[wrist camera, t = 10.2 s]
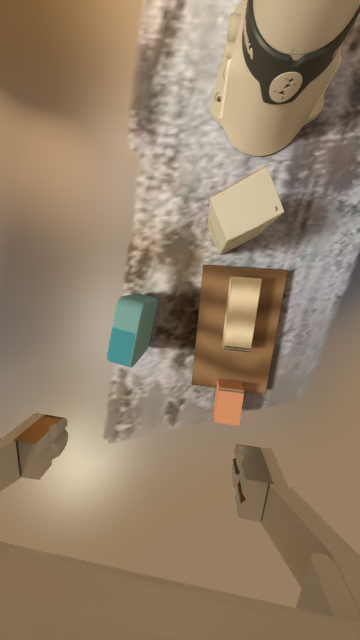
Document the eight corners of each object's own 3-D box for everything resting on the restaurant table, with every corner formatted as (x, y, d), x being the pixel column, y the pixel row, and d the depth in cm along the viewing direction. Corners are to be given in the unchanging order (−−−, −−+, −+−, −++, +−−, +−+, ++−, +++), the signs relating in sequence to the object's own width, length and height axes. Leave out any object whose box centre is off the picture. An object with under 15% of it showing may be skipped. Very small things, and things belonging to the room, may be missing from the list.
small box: (245, 205, 37) (268, 163, 24) (257, 236, 37) (286, 212, 25) (206, 226, 38) (209, 197, 25) (219, 255, 39) (228, 242, 26)
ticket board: (203, 265, 40) (203, 262, 34) (283, 271, 38) (296, 269, 33) (192, 380, 45) (191, 393, 39) (262, 388, 43) (271, 404, 38)
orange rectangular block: (217, 379, 42) (219, 387, 38) (240, 381, 41) (244, 391, 38) (213, 411, 43) (214, 422, 40) (235, 414, 43) (239, 426, 39)
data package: (140, 292, 42) (117, 296, 30) (160, 298, 42) (143, 303, 30) (130, 342, 45) (105, 363, 33) (148, 347, 44) (130, 371, 33)
